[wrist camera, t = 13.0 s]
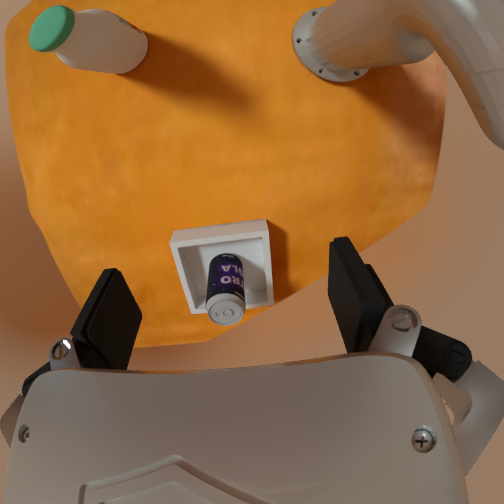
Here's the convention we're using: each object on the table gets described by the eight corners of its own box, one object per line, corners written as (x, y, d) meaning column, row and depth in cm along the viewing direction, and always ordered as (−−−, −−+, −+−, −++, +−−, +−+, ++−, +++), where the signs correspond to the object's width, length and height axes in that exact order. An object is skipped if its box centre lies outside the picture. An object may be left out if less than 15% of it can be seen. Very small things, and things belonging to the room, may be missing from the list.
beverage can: (243, 276, 49) (247, 326, 38) (211, 278, 48) (208, 328, 38) (241, 248, 46) (244, 296, 35) (207, 251, 45) (201, 299, 35)
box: (265, 218, 44) (268, 230, 40) (271, 290, 52) (274, 305, 48) (174, 230, 44) (169, 242, 40) (193, 299, 52) (191, 314, 48)
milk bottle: (159, 50, 28) (97, 15, 11) (118, 84, 30) (34, 84, 13) (132, 19, 25) (62, -23, 8) (93, 53, 27) (6, 41, 10)
